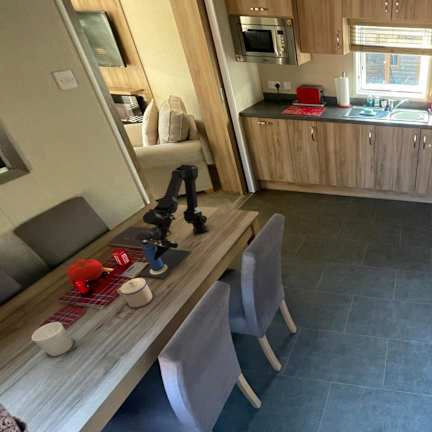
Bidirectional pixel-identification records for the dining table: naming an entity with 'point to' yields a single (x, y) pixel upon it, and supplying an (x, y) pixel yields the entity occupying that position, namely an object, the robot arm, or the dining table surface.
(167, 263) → the mat
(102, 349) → the dining table surface
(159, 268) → the tube
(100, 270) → the tomato
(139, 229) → the hardcover book
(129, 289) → the teacup with lid
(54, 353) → the white cup
